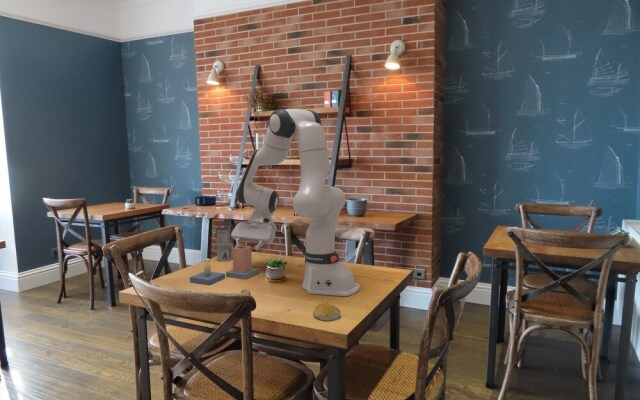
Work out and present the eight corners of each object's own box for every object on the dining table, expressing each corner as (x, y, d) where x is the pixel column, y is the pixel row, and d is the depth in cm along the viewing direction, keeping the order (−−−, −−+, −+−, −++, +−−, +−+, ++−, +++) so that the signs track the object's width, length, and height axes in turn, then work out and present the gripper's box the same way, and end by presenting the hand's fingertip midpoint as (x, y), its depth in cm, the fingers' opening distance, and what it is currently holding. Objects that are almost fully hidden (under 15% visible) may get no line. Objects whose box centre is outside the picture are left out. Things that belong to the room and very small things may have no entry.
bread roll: (327, 309, 151) (327, 298, 150) (344, 317, 144) (344, 305, 143) (307, 315, 146) (307, 303, 146) (323, 323, 139) (323, 311, 138)
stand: (259, 273, 193) (258, 250, 192) (246, 279, 184) (245, 255, 183) (239, 270, 197) (239, 248, 196) (226, 276, 188) (225, 253, 187)
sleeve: (251, 269, 192) (251, 246, 190) (244, 272, 186) (243, 249, 185) (241, 267, 194) (240, 245, 193) (233, 271, 189) (232, 248, 188)
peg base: (225, 278, 186) (224, 256, 185) (209, 285, 177) (208, 262, 176) (205, 275, 190) (205, 254, 189) (189, 282, 181) (189, 259, 180)
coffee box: (221, 256, 222) (220, 224, 220) (234, 256, 222) (233, 224, 220) (216, 261, 213) (215, 228, 211) (230, 261, 212) (229, 228, 210)
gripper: (236, 217, 202) (223, 242, 194) (275, 220, 193) (263, 247, 186) (241, 225, 206) (229, 250, 199) (280, 228, 198) (269, 255, 190)
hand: (246, 249), depth 192 cm, fingers open, 8 cm apart
